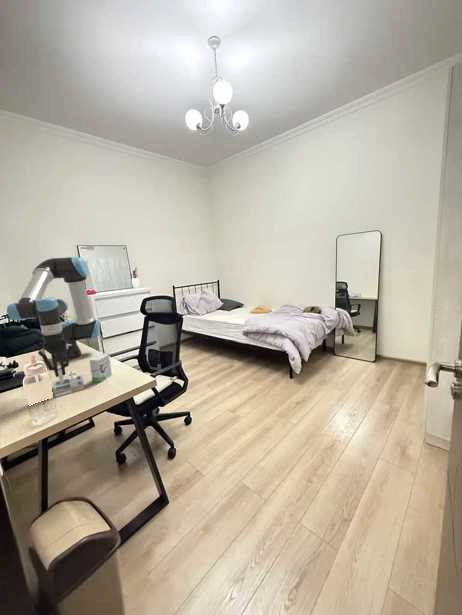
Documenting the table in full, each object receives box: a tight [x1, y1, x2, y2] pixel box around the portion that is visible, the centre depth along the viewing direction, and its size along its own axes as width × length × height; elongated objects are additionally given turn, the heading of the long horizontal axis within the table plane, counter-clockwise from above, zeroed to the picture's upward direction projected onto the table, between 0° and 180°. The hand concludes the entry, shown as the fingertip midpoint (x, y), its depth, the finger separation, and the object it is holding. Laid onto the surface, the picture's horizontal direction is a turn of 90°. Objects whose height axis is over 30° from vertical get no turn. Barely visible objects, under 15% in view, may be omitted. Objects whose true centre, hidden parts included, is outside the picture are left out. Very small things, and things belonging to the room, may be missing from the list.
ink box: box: [89, 353, 113, 383], centre depth 127 cm, size 9×5×12 cm, turn 168°
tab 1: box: [67, 369, 77, 377], centre depth 123 cm, size 4×3×5 cm
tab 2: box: [68, 374, 78, 388], centre depth 117 cm, size 4×3×5 cm
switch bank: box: [52, 375, 86, 398], centre depth 120 cm, size 13×12×2 cm
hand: (62, 382), depth 115 cm, fingers closed
